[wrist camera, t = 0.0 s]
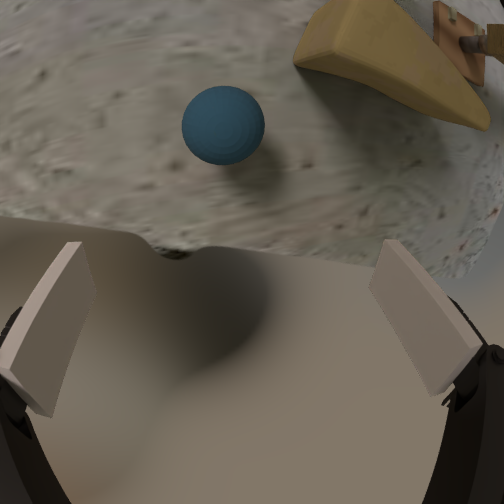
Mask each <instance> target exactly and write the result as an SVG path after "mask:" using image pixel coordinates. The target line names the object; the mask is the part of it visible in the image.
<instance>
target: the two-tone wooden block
mask: <svg viewBox="0 0 504 504" xmlns="http://www.w3.org/2000/svg"><path fill="white" fill-rule="evenodd" d="M478 43H479V47H480V49H481V51H482V53H483V54H484V55H486V56H492V57H494V58H496V59H497V60H498V61H500V62H501V63H502V64H504V24H487V35H480V36H479V38H478Z"/></svg>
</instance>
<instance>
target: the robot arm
mask: <svg viewBox="0 0 504 504" xmlns="http://www.w3.org/2000/svg"><path fill="white" fill-rule="evenodd" d="M369 289H370V291H371V292H372V294H373V295H374V297H375V299H376V300H377V302H378V303H379V305H380V307H381V308H382V310H383V312H384V313H385V315H386V317H387V318H388V320H389V322H390V323H391V325H392V326H393V329H394V330H395V332H396V334H397V335H398V337H399V339H400V341H401V342H402V344H403V346H404V348H405V349H406V351H407V353H408V355H409V357H410V359H411V361H412V362H413V364H414V366H415V368H416V370H417V372H418V374H419V376H420V377H421V379H422V381H423V383H424V385H425V387H426V389H427V391H428V393H429V395H430V397H432V396H435V395H438V394H440V393H443V392H445V391H446V389H447V388H448V387H449V386H450V385H451V384H452V383H454V385H455V388H454V390H453V391H452V392H451V393H450V394H449V395H448V396H447V397H446V398H445V399H444V400H443V402H442V404H441V405H443V406H444V405H445V404H446V403H447V401H448V400H449V399H450V403H449V404H448V405H447V407H448V408H449V411H448V416H447V421H446V425H445V430H444V434H443V439H442V443H441V447H440V451H439V454H438V458H437V461H436V465H435V468H434V471H433V474H432V477H431V481H430V483H429V486H428V489H427V492H426V494H425V497H424V500H423V502H422V504H504V349H503V348H502V347H500V346H499V345H495V344H493V345H488V344H487V343H486V341H485V340H484V338H483V337H482V336H481V334H480V333H479V331H478V330H477V329H476V327H475V326H474V325H473V323H472V322H471V321H470V320H469V318H468V317H467V315H466V314H465V313H463V310H462V309H461V308H460V306H459V305H458V304H457V303H456V302H455V301H454V300H452V299H451V298H450V297H449V296H447V295H446V294H445V293H444V292H443V290H441V288H440V287H439V286H438V284H437V283H436V282H435V281H434V280H433V279H432V277H431V276H430V275H429V274H428V273H427V272H426V270H425V269H424V268H423V267H422V266H421V265H420V264H419V263H418V261H417V260H416V259H415V258H414V257H413V256H412V255H411V254H410V253H409V252H408V250H407V249H406V248H405V247H404V246H403V245H402V244H401V243H400V242H399V241H398V240H396V239H384V242H383V245H382V248H381V252H380V255H379V258H378V261H377V264H376V267H375V270H374V273H373V276H372V279H371V282H370V286H369ZM96 294H97V292H96V289H95V285H94V282H93V279H92V276H91V272H90V269H89V266H88V262H87V258H86V255H85V251H84V247H83V243H82V242H67V244H66V245H65V246H64V248H63V249H62V250H61V252H60V253H59V254H58V256H57V257H56V258H55V260H54V261H53V263H52V264H51V265H50V267H49V268H48V270H47V271H46V273H45V274H44V276H43V277H42V279H41V280H40V281H39V283H38V284H37V286H36V288H35V289H34V291H33V292H32V294H31V295H30V297H29V299H28V300H27V302H26V303H25V305H24V307H19V308H18V309H17V310H16V311H15V312H14V313H13V314H12V315H11V317H10V318H9V320H8V322H7V323H6V325H5V328H4V329H3V330H2V332H1V336H0V504H71V502H70V501H69V499H68V497H67V496H66V494H65V492H64V491H63V489H62V487H61V485H60V484H59V482H58V480H57V478H56V476H55V475H54V473H53V471H52V469H51V467H50V465H49V463H48V461H47V459H46V457H45V454H44V452H43V450H42V448H41V445H40V443H39V441H38V438H37V436H36V434H35V431H34V429H33V426H32V423H31V421H30V418H29V416H28V415H27V413H26V412H25V410H26V407H27V405H28V406H29V407H30V408H31V409H32V410H33V411H34V412H35V413H36V414H39V415H43V416H46V417H50V418H52V417H53V413H54V409H55V406H56V402H57V399H58V395H59V392H60V389H61V385H62V382H63V379H64V376H65V373H66V370H67V367H68V364H69V361H70V358H71V356H72V353H73V350H74V348H75V345H76V342H77V340H78V337H79V334H80V332H81V329H82V327H83V324H84V322H85V320H86V317H87V315H88V312H89V310H90V308H91V305H92V303H93V301H94V298H95V296H96Z"/></svg>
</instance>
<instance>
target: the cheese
mask: <svg viewBox="0 0 504 504" xmlns="http://www.w3.org/2000/svg"><path fill="white" fill-rule="evenodd" d="M293 63H294V64H295V65H296V66H299V67H302V68H307V69H312V70H316V71H321V72H325V73H329V74H333V75H337V76H340V77H344V78H347V79H351V80H354V81H357V82H360V83H362V84H365V85H367V86H370V87H372V88H374V89H376V90H378V91H380V92H382V93H383V94H385V95H387V96H389V97H390V98H392V99H394V100H396V101H398V102H400V103H402V104H404V105H406V106H408V107H410V108H412V109H414V110H416V111H418V112H420V113H422V114H425V115H428V116H431V117H434V118H437V119H440V120H444V121H447V122H451V123H455V124H459V125H463V126H467V127H471V128H474V129H477V130H480V131H484V132H485V131H487V130H488V127H489V125H490V122H491V117H490V114H489V112H488V110H487V108H486V107H485V105H484V103H483V102H482V101H481V99H480V98H479V96H478V95H477V94H476V93H475V91H474V90H473V89H472V87H471V86H470V85H469V84H468V82H467V81H466V80H465V78H464V77H463V76H462V75H461V73H460V72H459V71H458V70H457V68H456V67H455V66H454V65H453V63H452V62H451V61H450V60H449V59H448V58H447V56H446V55H445V54H444V53H443V52H442V51H441V49H440V48H439V47H438V46H437V45H436V44H435V43H434V42H433V40H432V39H431V38H430V37H429V36H428V35H427V34H426V33H425V32H424V31H423V29H422V28H421V27H420V26H419V25H418V24H417V23H416V22H415V21H414V20H413V19H412V18H411V17H410V16H409V15H408V14H407V13H406V12H405V11H404V10H403V9H402V8H401V7H400V6H399V5H398V4H397V3H396V2H395V1H394V0H331V1H329V2H328V3H327V4H325V5H324V6H322V7H321V8H320V9H318V10H317V11H316V12H315V13H314V14H313V16H312V18H311V20H310V22H309V24H308V26H307V28H306V30H305V32H304V34H303V36H302V38H301V40H300V43H299V45H298V47H297V49H296V52H295V54H294V57H293Z"/></svg>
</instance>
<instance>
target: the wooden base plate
mask: <svg viewBox="0 0 504 504" xmlns="http://www.w3.org/2000/svg"><path fill="white" fill-rule="evenodd" d="M433 13H434V43H435V44H436V45H437V46H438V47H439V48H440V49H441V51H442V52H443V53H444V54H445V55H446V56H447V58H448V59H449V60H450V61H451V62H452V63H453V65H454V66H455V67H456V68H457V70H458V71H459V72H460V73H461V75H462V76H463V77H464V78H465V79H467V80H469V81H470V82H472V83H474V84H476V85H477V86H482V87H483V86H484V71H485V55H484V54H483V53H482V51H481V49H480V47H479V43H478V38H479V36H480V35H485V30H484V29H482V26H480V25H479V24H475V23H474V22H472V21H471V20H469V19H468V18H466V17H465V16H463V15H462V14H460V13H459V12H457V10H456V9H455V8H453V7H449V6H447V5H445V4H444V3H442V2H440V1H434V2H433Z"/></svg>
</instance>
